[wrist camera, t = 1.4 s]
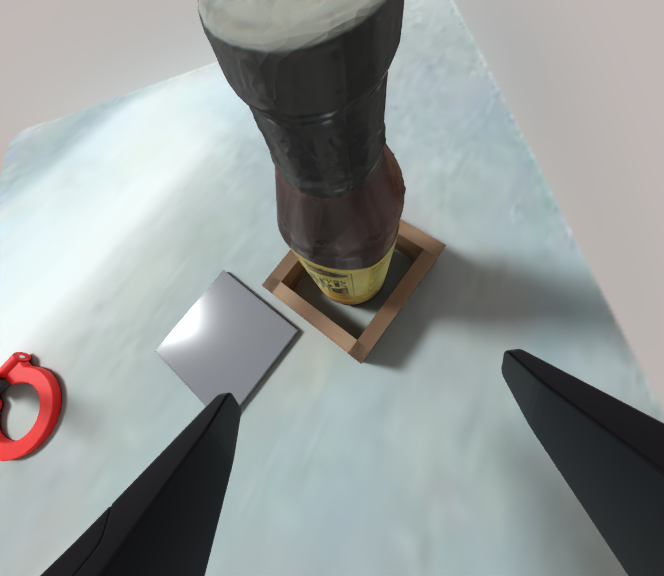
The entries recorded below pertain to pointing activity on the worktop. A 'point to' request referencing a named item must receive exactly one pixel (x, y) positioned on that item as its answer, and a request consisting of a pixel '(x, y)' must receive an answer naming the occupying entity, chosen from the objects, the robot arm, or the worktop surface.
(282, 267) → the holder frame
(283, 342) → the slate tile
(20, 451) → the tow hook
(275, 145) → the sauce bottle
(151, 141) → the worktop surface
